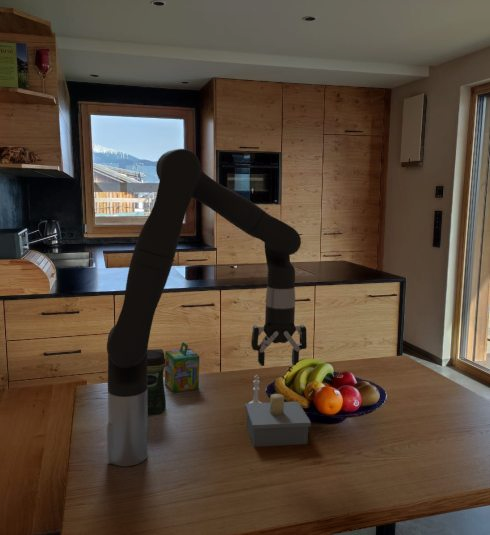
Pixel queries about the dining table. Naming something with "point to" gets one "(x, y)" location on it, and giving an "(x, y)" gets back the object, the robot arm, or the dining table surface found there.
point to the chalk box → (182, 369)
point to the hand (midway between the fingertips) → (278, 364)
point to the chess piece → (256, 390)
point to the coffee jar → (155, 381)
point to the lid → (276, 414)
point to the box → (277, 435)
